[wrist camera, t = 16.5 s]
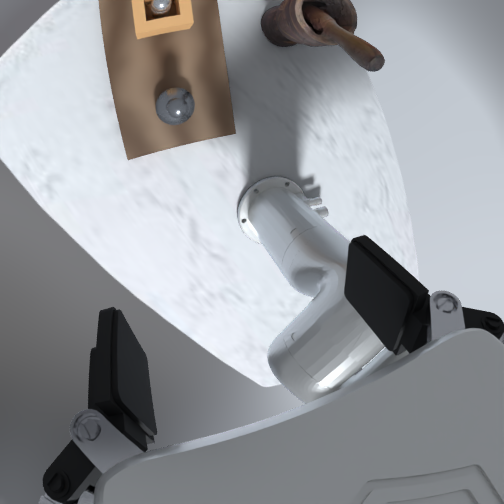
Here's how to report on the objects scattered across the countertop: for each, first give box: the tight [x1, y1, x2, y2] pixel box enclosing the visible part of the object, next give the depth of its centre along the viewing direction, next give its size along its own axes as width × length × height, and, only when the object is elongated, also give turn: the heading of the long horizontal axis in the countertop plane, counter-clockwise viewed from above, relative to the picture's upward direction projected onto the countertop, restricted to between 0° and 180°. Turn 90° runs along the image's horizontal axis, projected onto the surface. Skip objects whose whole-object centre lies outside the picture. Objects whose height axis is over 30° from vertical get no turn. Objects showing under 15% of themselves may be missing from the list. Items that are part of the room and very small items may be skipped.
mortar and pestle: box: [261, 0, 385, 71], centre depth 28 cm, size 12×9×20 cm
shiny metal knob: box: [156, 88, 195, 125], centre depth 33 cm, size 5×5×7 cm
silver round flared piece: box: [144, 0, 177, 21], centre depth 25 cm, size 5×5×7 cm
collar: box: [132, 0, 194, 39], centre depth 25 cm, size 7×7×4 cm
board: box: [99, 0, 236, 160], centre depth 33 cm, size 16×26×2 cm, turn 7°
